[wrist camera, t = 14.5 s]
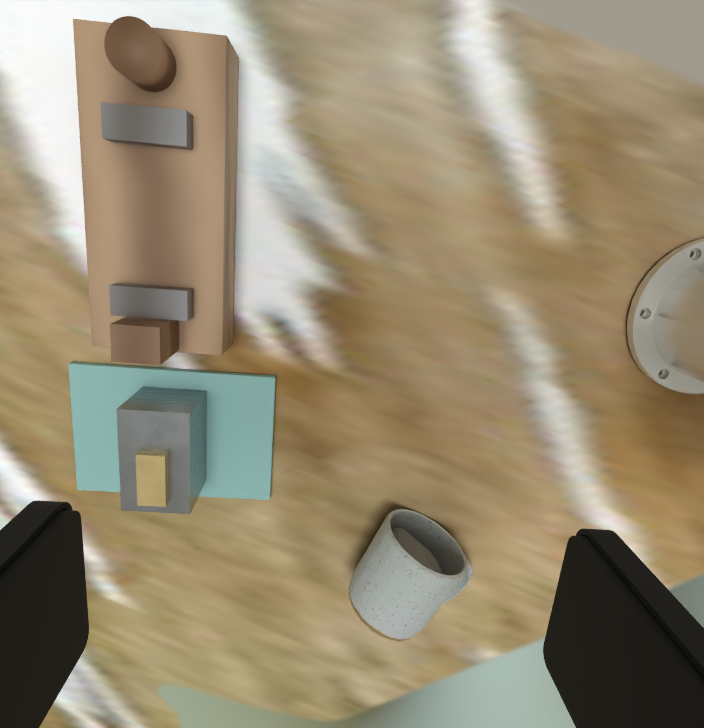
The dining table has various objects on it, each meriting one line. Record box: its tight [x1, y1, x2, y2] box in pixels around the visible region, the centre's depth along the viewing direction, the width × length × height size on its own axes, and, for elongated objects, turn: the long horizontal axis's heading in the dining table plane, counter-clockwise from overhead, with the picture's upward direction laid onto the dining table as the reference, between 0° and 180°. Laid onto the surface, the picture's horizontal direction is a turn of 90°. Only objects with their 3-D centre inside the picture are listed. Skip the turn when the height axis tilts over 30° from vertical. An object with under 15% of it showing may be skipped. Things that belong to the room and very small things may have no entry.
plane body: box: [73, 16, 239, 365], centre depth 32 cm, size 9×20×8 cm, turn 175°
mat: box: [68, 362, 276, 500], centre depth 40 cm, size 16×11×1 cm
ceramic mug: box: [349, 509, 472, 641], centre depth 41 cm, size 11×8×8 cm
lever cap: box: [116, 386, 207, 514], centre depth 37 cm, size 5×8×6 cm, turn 175°
